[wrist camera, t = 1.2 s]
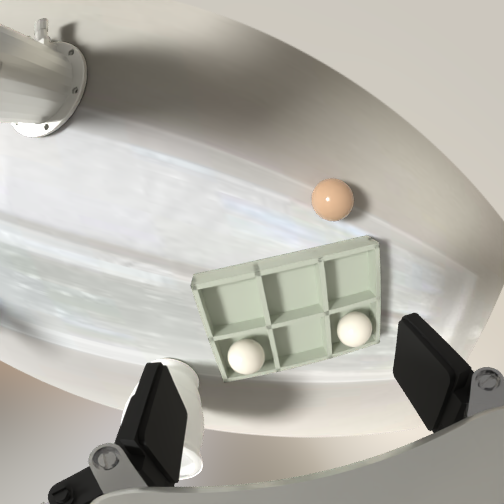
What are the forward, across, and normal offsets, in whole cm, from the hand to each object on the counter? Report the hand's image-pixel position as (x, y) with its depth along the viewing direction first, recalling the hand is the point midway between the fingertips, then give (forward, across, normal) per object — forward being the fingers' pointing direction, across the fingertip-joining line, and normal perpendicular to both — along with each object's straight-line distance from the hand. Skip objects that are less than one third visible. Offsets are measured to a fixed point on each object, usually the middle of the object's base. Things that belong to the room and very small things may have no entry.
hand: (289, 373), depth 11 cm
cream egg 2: (+23, -10, +14) cm, 29 cm away
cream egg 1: (+23, +4, +14) cm, 27 cm away
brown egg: (+24, -9, -2) cm, 26 cm away
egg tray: (+24, -3, +11) cm, 27 cm away
